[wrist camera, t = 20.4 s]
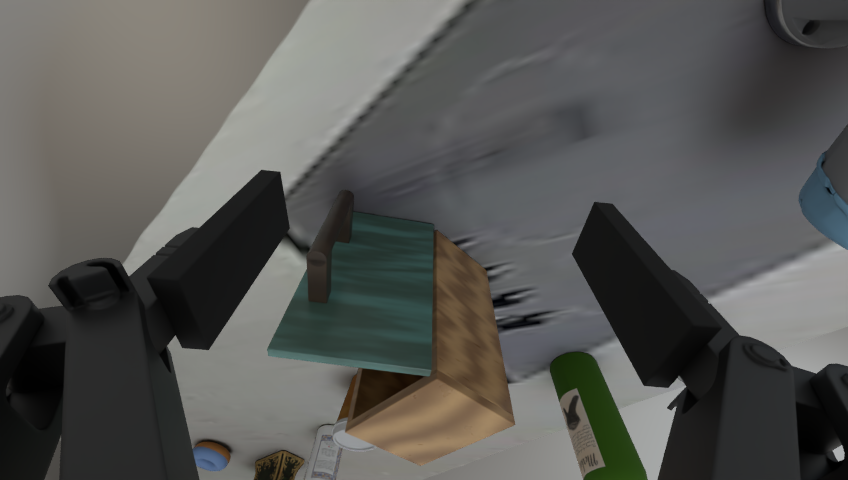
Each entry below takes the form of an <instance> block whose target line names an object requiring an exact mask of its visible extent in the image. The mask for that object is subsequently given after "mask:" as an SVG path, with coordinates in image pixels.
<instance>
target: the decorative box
mask: <svg viewBox="0 0 848 480" xmlns="http://www.w3.org/2000/svg"><path fill="white" fill-rule="evenodd" d="M303 464H304V460H303V459H301V458H299V457H297V456H295V455H293V454H291V453H289V452H286V451H280V452H278V453H275V454H273V455H270V456H268V457H266V458H263V459H261V460H258V461H256V462H255V467H256V473H255V478H254V480H294V478H295V475H296V473H297V472H298V470H299V469H300V467H301V466H302V465H303Z"/></svg>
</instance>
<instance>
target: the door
mask: <svg viewBox="0 0 848 480" xmlns="http://www.w3.org/2000/svg"><path fill="white" fill-rule="evenodd" d="M353 205H354V195H353V194H352V192H350V191H349V190H342V191H341V192H340V193H339V195H338V197H337V198H336V200H335V202H334V204H333V206H332V208H331V210H330V212H329V214H328V216H327V218H326V220H325V221H324V223H323V225H322V227H321V229H320V231H319V233H318V235H317V237H316V239H315V241H314V243H313V244H312V246H311V248H310V250H309V252H308V254H307V270H306V272H305V274H304V276H303V278H302V280H301V282H300V284H299V286H298V288H297V290H296V292H295V294H294V296H293V298H292V300H291V302H290V304H289V306H288V308H287V310H286V312H285V314H284V316H283V318H282V320H281V322H280V324H279V326H278V328H277V330H276V332H275V334H274V336H273V338H272V340H271V342H270V344H269V347H268V349H267V351H268V356H272V357H280V358H288V359H296V360H304V361H311V362H319V363H327V364H335V365H343V366H350V367H358V368H366V369H374V370H382V371H389V372H397V373H405V374H413V375H421V376H428V377H429V376H430V374H431V370H432V306H433V235H434V225H433V224H427V223H421V222H415V221H409V220H403V219H396V218H390V217H384V216H378V215H371V214H365V213H359V212H353Z"/></svg>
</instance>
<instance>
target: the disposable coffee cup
mask: <svg viewBox="0 0 848 480" xmlns="http://www.w3.org/2000/svg"><path fill="white" fill-rule="evenodd" d="M356 378H357V375H355V376H354V377H353V379H352V382H351V384H350V387H349V390H348V392H347V395H346V398H345V401H344V403H343V406H342V409H341V411H340V414H339V417H338V420H337V422H336V423H335V425H334V426H333V428H332V434H333V441H334V443H335V444H336V445H338V446H339V447H341V448H344V449H347V450H351V451H369V450H372V449H375V448H376V447H377V446H374V445H372V444H370V443H367V442H365V441H363V440H361V439H358V438H356V437H354V436H352V435H349V434H347V433H345V429H346V424H347V420H348V415H349V410H350V406H351V401H352V396H353V392H354V387H355V383H356Z"/></svg>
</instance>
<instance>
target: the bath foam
mask: <svg viewBox="0 0 848 480" xmlns="http://www.w3.org/2000/svg"><path fill="white" fill-rule="evenodd" d="M333 426H334V425H324V426H322V427H320V428H319V429H318V432H317V435H316V439H315V442H314V445H313V449H312V452H311V456H310V460H309V463H308V467H307V470H306V474H305V477H304V480H336V476H337V471H338V467H339V462H340V457H341V453H342V448H341V447H339V446H338V445H336V444H335V443H334V441H333V434H332V428H333Z"/></svg>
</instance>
